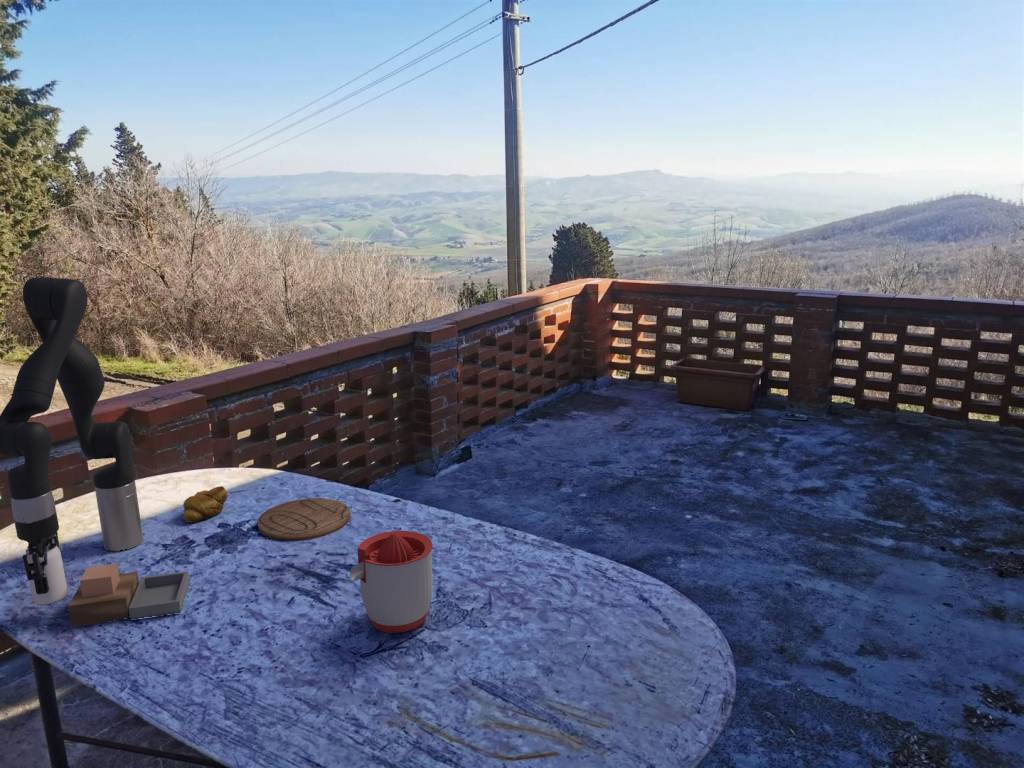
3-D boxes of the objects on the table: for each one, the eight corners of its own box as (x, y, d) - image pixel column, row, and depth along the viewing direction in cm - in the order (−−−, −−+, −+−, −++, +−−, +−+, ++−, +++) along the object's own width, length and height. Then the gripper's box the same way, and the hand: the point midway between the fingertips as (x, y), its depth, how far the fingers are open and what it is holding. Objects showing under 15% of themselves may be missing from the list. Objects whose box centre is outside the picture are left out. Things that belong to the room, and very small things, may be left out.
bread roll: (194, 527, 202) (191, 500, 200) (172, 520, 207) (168, 494, 205) (232, 511, 213) (230, 485, 211) (210, 504, 218) (207, 479, 216)
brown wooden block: (87, 598, 166) (83, 578, 165) (140, 591, 169) (137, 571, 168) (71, 627, 155) (68, 606, 154) (128, 618, 158) (125, 598, 157)
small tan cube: (90, 583, 163) (87, 567, 162) (119, 579, 164) (117, 563, 163) (82, 597, 157) (79, 580, 156) (113, 593, 159) (110, 576, 158)
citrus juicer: (346, 611, 160) (340, 526, 155) (423, 594, 167) (420, 512, 162) (362, 649, 146) (355, 558, 141) (445, 629, 153) (442, 541, 148)
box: (143, 588, 170) (141, 577, 169) (189, 582, 173) (188, 571, 172) (130, 621, 157) (128, 608, 156) (180, 613, 160) (179, 601, 159)
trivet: (311, 497, 223) (311, 491, 222) (369, 517, 209) (368, 510, 208) (239, 526, 203) (238, 520, 203) (297, 550, 189) (296, 543, 189)
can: (51, 607, 155) (41, 556, 152) (25, 604, 156) (15, 553, 153) (75, 591, 161) (66, 542, 158) (49, 588, 162) (40, 539, 159)
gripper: (26, 501, 159) (39, 571, 163) (1, 530, 146) (16, 604, 150) (65, 497, 161) (77, 566, 165) (43, 525, 148) (57, 599, 152)
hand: (48, 584), depth 158 cm, fingers closed on can, 6 cm apart
